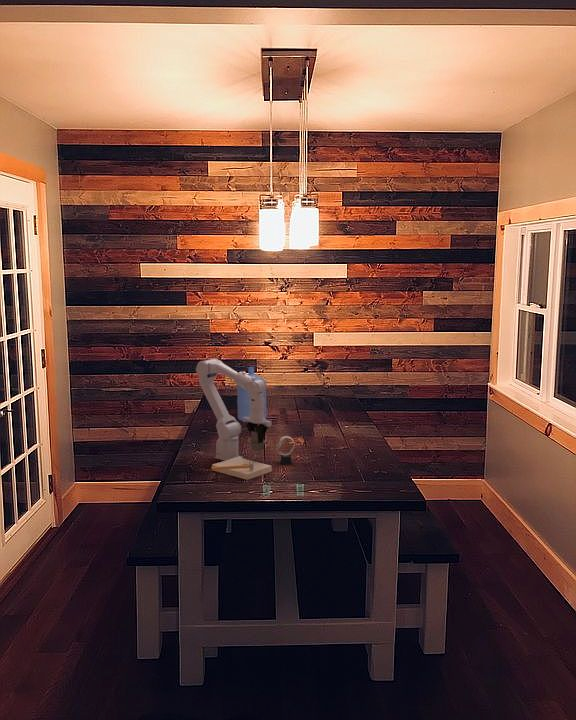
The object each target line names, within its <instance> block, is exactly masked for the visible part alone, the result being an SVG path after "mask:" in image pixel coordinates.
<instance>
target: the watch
mask: <svg viewBox="0 0 576 720" xmlns="http://www.w3.org/2000/svg"><path fill="white" fill-rule="evenodd" d="M285 439H289V440H291V441H292V448H291V449H290V451H289V452H285V453H283V452H281V451H280V450H279V449H280V448H281V446H282V445H283V443H284V440H285ZM295 447H296V445H295V440H294V439H293V437H291V436H288V435H284V436H281V437H279V440H278V441H277V443H276V445H275V448H276V451H277V453H278V454H279V455H280V465H292V454H293V452H294V450H295Z"/></svg>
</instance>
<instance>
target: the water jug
mask: <svg viewBox="0 0 576 720" xmlns="http://www.w3.org/2000/svg"><path fill="white" fill-rule="evenodd" d="M247 369H248V370H247V371H248V374H247V375H249V376H251V377H255V379H256V380H257V379H262V380H263V381H264V382H265V384H266V385H267V380H266V379H264V378H262V377H260V376H258V375H255V367H254V366H249V367H248V368H247ZM236 391H237V392H236V393H237V398H236V400H237V401H236V403H237V420H239V421H240V422H243V417H250V398H249V394H248V392H247V390H246V389H244V388H242V387H240V386H239V385H237V384H236ZM263 397H264V418H265V419H266V420H267V418H268V414H267V403H268V402H267V388H266V389H265V391H264V392H263Z"/></svg>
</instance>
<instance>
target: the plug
mask: <svg viewBox="0 0 576 720" xmlns="http://www.w3.org/2000/svg"><path fill="white" fill-rule="evenodd" d="M250 439H251V440H249V441H246V444H247V445H249V446H250V447H251V451H255V452H259V451H263V450H264V445H268V441H267V440H263V442H259V440H258V432H257V429H256V427H254V430H253V431H251V436H250Z"/></svg>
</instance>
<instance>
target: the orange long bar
mask: <svg viewBox="0 0 576 720" xmlns="http://www.w3.org/2000/svg"><path fill="white" fill-rule="evenodd" d="M240 468H249V469H250V470H253V469H254V463H249V465H236V466H221V467H212V466H211V471H213V470H224V469H240Z"/></svg>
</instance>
